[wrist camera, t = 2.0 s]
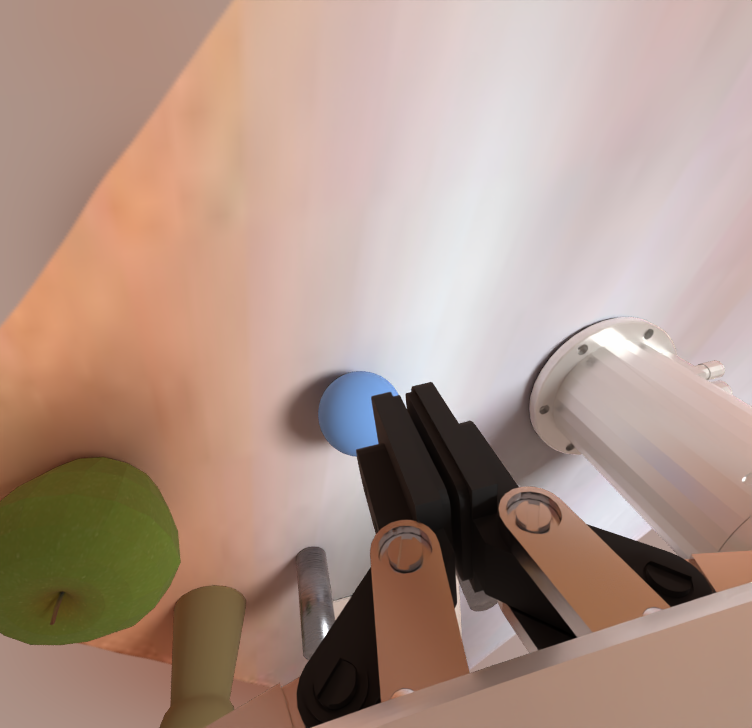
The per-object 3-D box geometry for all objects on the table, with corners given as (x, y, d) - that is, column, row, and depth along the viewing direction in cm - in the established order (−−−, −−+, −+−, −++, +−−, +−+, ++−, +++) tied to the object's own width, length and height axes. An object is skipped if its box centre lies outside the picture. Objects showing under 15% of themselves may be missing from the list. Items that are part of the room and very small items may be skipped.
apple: (222, 475, 33) (208, 600, 24) (131, 557, 35) (88, 700, 26) (81, 393, 27) (-2, 517, 19) (-19, 495, 29) (-134, 650, 21)
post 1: (322, 543, 38) (335, 635, 32) (328, 562, 40) (341, 654, 33) (293, 551, 38) (299, 646, 31) (299, 570, 39) (307, 664, 33)
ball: (386, 348, 31) (409, 391, 26) (395, 413, 33) (417, 462, 29) (306, 366, 30) (315, 413, 25) (322, 430, 33) (332, 484, 28)
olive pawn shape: (165, 595, 37) (132, 755, 28) (238, 578, 38) (231, 728, 29) (183, 635, 40) (159, 792, 31) (251, 619, 41) (248, 766, 32)
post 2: (460, 505, 40) (501, 585, 33) (461, 524, 41) (500, 605, 35) (433, 513, 40) (468, 595, 33) (435, 532, 41) (469, 614, 34)
